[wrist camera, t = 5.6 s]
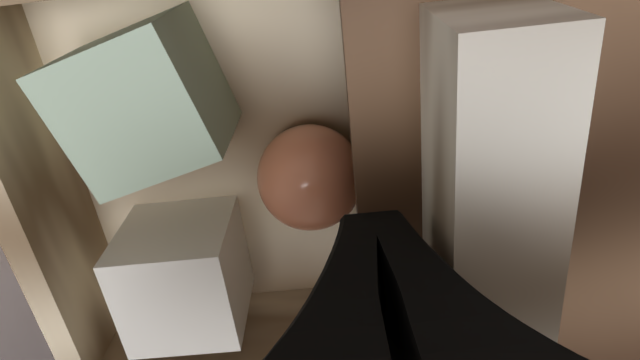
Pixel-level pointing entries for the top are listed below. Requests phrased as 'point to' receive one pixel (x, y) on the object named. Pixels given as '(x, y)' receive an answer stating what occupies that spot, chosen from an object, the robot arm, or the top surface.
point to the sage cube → (137, 104)
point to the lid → (509, 151)
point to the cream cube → (178, 278)
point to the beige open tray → (210, 181)
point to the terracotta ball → (307, 177)
